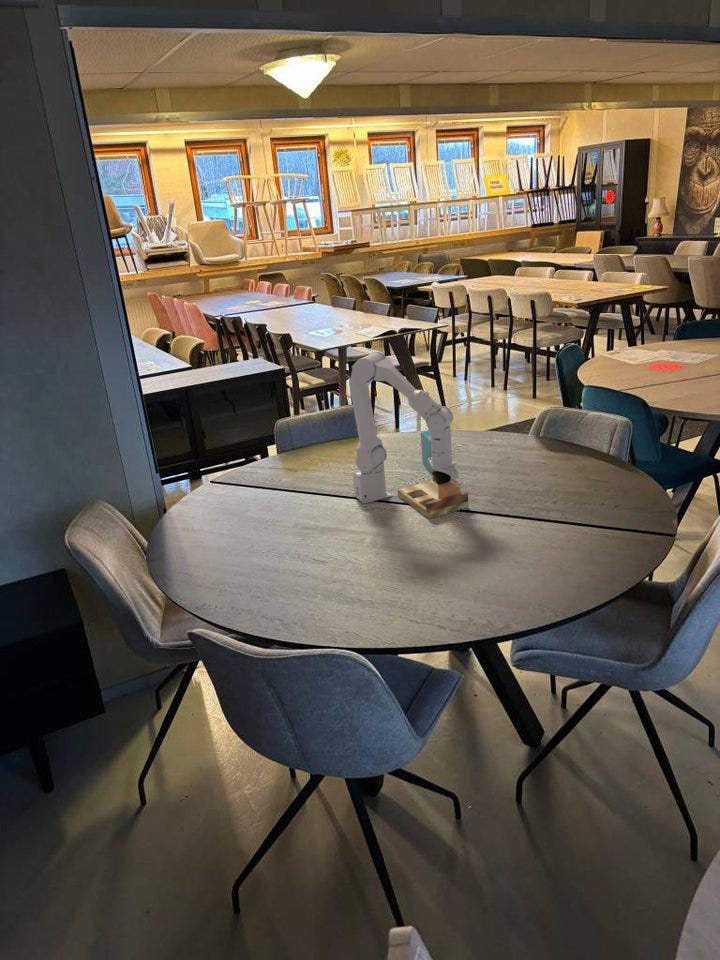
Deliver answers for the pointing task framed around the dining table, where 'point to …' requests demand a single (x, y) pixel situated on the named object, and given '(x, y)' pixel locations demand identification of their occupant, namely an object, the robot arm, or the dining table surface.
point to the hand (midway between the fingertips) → (444, 494)
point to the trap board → (432, 499)
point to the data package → (426, 449)
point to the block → (448, 489)
